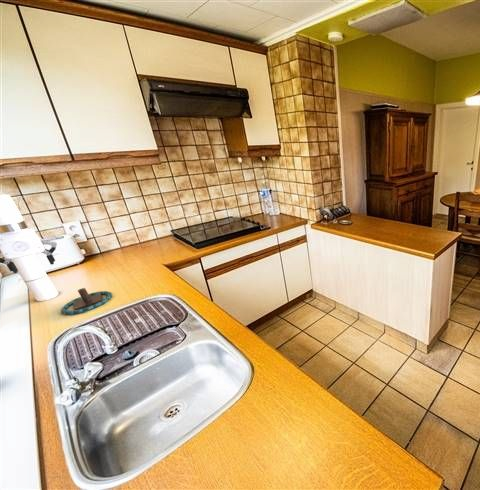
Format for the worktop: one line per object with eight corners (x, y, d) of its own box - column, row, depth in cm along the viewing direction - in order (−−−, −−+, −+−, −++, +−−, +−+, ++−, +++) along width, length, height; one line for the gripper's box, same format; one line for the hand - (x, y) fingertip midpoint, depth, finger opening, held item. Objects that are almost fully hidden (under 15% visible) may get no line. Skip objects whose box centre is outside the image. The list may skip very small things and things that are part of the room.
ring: (61, 320, 110) (59, 317, 109) (62, 305, 121) (61, 302, 120) (114, 302, 121) (112, 299, 120) (110, 289, 131) (109, 286, 131)
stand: (75, 312, 115) (66, 297, 112) (75, 304, 121) (67, 290, 118) (103, 302, 121) (95, 288, 118) (101, 295, 127) (94, 282, 124)
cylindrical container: (57, 291, 132) (30, 245, 123) (58, 295, 128) (30, 249, 118) (36, 298, 127) (5, 251, 118) (36, 303, 123) (4, 254, 113)
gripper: (-30, 236, 92) (-2, 278, 99) (44, 223, 103) (65, 263, 110) (-24, 231, 97) (2, 272, 104) (46, 220, 108) (66, 258, 115)
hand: (35, 267), depth 107 cm, fingers open, 9 cm apart
